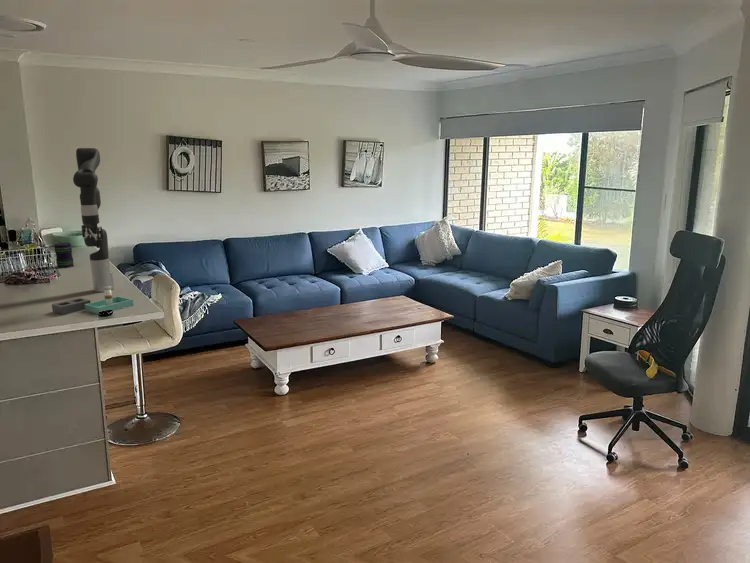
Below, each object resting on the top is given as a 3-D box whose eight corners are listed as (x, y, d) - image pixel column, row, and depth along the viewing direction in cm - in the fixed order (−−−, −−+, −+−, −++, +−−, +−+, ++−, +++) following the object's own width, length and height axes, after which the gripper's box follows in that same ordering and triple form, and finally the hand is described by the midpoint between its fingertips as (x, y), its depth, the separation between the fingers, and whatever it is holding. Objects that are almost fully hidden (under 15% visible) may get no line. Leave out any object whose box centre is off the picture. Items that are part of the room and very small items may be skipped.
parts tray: (119, 302, 302) (118, 296, 301) (133, 305, 295) (133, 299, 295) (85, 310, 287) (84, 304, 287) (99, 314, 281) (98, 308, 280)
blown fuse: (110, 305, 293) (108, 285, 291) (114, 306, 292) (112, 286, 289) (104, 307, 291) (101, 287, 288) (108, 308, 289) (105, 288, 286)
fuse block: (80, 305, 296) (79, 297, 296) (91, 308, 292) (90, 300, 291) (52, 312, 285) (51, 304, 284) (63, 315, 280) (61, 306, 279)
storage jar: (57, 265, 391) (54, 243, 387) (74, 264, 395) (71, 242, 391) (56, 268, 382) (53, 245, 378) (73, 267, 386) (70, 244, 382)
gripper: (105, 214, 291) (109, 247, 295) (89, 212, 299) (93, 244, 303) (90, 215, 285) (95, 249, 289) (74, 214, 293) (78, 246, 297)
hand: (94, 246), depth 296 cm, fingers open, 8 cm apart
